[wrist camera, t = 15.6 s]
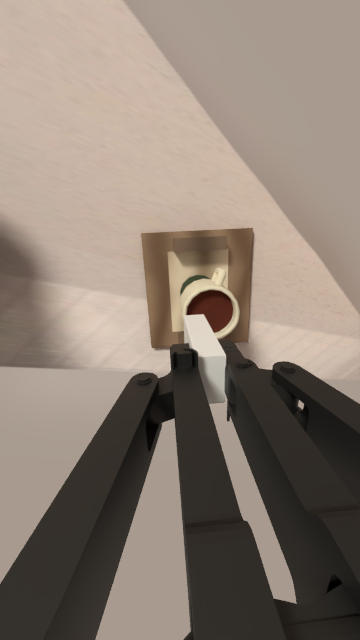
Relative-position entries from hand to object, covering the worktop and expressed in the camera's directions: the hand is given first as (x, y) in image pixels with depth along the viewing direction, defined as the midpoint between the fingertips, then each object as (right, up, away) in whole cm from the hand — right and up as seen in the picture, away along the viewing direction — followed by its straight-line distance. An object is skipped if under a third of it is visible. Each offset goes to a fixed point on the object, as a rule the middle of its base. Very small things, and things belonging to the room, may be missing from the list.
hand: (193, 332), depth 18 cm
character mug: (+2, +6, +24) cm, 24 cm away
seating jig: (+2, +6, +25) cm, 25 cm away
